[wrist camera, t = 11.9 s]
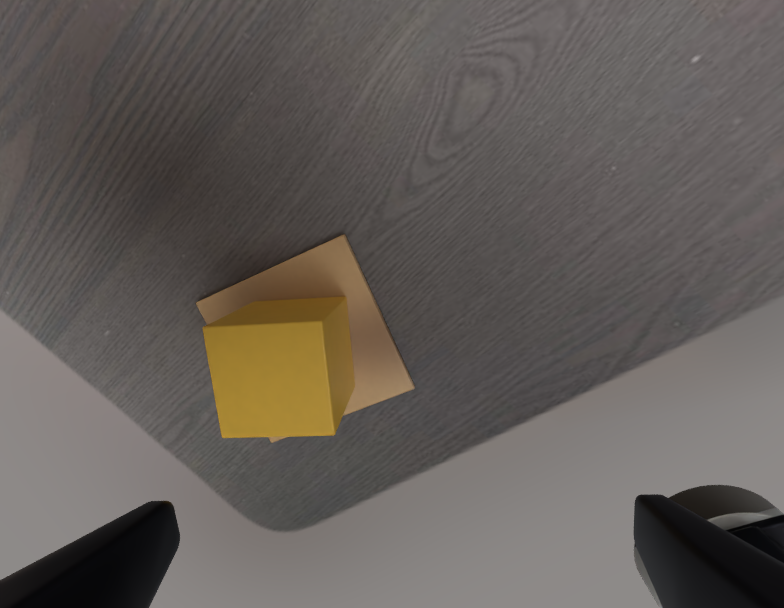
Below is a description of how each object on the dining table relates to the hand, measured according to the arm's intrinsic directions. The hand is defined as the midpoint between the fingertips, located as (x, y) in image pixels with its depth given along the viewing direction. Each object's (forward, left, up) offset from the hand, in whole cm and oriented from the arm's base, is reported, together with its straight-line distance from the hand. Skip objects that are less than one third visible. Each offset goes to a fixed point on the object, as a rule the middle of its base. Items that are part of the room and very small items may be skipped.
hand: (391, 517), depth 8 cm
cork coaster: (+2, +5, -12) cm, 13 cm away
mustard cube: (+2, +5, -11) cm, 12 cm away
